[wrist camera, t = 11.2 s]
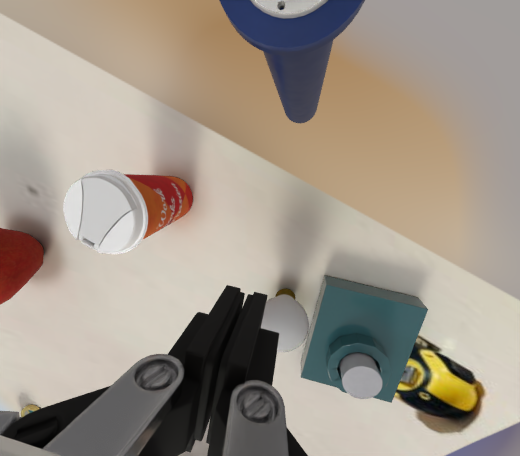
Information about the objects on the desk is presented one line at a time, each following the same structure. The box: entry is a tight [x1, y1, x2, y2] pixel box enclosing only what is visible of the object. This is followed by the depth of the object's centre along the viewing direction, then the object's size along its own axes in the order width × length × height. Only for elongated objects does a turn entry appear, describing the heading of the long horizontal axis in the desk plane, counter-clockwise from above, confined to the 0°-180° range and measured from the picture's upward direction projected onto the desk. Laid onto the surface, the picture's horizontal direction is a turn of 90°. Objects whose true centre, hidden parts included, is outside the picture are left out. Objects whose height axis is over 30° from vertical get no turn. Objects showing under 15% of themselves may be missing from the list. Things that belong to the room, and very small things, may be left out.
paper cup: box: [63, 170, 193, 254], centre depth 30 cm, size 8×8×14 cm
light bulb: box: [261, 288, 309, 352], centre depth 32 cm, size 6×6×10 cm
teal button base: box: [301, 276, 428, 402], centre depth 34 cm, size 14×12×5 cm
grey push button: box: [340, 353, 382, 399], centre depth 32 cm, size 4×4×2 cm
